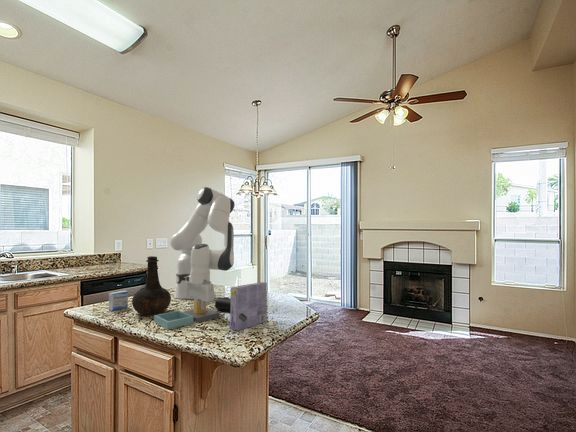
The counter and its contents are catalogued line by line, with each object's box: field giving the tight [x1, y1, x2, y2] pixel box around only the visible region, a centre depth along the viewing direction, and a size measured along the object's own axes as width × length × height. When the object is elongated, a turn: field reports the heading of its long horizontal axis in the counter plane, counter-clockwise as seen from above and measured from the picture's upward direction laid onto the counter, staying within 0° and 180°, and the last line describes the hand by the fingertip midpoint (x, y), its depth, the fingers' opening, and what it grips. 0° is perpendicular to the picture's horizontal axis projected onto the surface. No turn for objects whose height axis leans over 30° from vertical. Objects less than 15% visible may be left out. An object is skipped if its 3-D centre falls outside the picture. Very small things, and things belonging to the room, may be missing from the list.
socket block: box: [182, 307, 220, 324], centre depth 147 cm, size 12×14×2 cm
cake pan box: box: [230, 281, 268, 332], centre depth 137 cm, size 19×5×18 cm, turn 141°
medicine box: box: [108, 290, 129, 312], centre depth 163 cm, size 8×4×9 cm, turn 143°
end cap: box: [214, 296, 231, 313], centre depth 158 cm, size 10×7×7 cm
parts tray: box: [153, 310, 194, 330], centre depth 138 cm, size 12×14×4 cm
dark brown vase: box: [131, 255, 172, 316], centre depth 155 cm, size 18×18×28 cm
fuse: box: [193, 299, 207, 314], centre depth 147 cm, size 5×3×8 cm, turn 135°
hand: (199, 308), depth 147 cm, fingers closed on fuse, 3 cm apart
